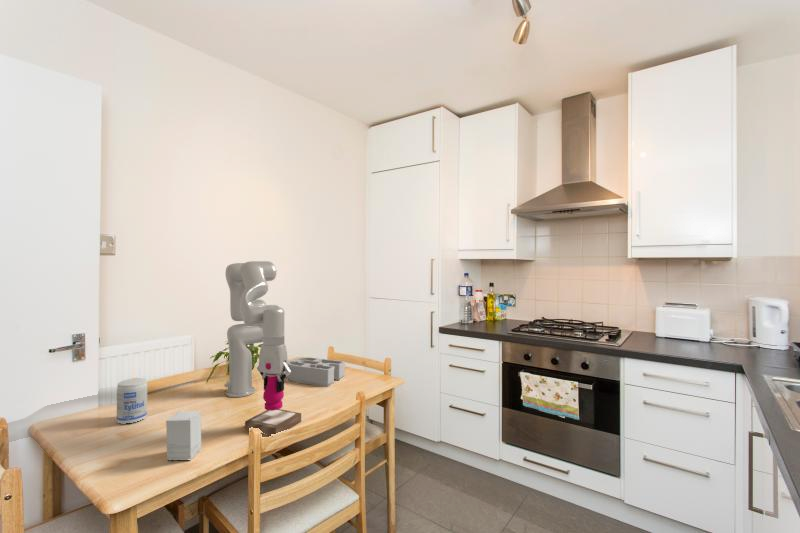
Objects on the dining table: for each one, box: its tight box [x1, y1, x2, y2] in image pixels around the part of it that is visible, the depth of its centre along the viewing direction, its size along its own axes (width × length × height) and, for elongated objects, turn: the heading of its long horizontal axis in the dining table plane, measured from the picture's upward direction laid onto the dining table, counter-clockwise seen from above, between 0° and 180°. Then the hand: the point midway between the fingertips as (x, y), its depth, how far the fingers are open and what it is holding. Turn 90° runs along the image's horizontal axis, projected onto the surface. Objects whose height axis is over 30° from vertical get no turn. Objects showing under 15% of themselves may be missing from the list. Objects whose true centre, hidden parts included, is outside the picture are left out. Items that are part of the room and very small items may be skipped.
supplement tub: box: [116, 377, 148, 425], centre depth 147 cm, size 10×10×15 cm
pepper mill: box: [262, 363, 285, 411], centre depth 142 cm, size 7×7×20 cm
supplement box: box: [165, 410, 202, 461], centre depth 121 cm, size 7×7×13 cm
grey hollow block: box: [287, 357, 346, 387], centre depth 199 cm, size 17×28×9 cm, turn 68°
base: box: [244, 408, 302, 436], centre depth 142 cm, size 14×14×3 cm
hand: (273, 389), depth 142 cm, fingers closed on pepper mill, 5 cm apart
